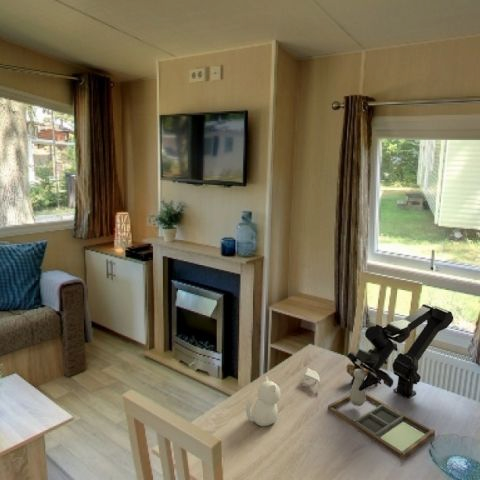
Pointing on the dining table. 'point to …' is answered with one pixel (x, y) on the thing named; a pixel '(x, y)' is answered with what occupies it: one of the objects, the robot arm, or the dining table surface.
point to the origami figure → (311, 375)
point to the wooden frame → (402, 455)
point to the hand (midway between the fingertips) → (355, 387)
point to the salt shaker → (355, 394)
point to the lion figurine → (351, 369)
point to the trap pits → (380, 420)
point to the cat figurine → (265, 404)
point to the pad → (402, 436)
